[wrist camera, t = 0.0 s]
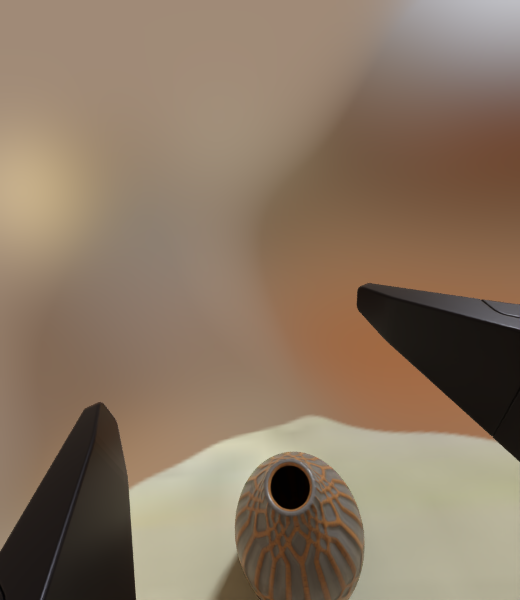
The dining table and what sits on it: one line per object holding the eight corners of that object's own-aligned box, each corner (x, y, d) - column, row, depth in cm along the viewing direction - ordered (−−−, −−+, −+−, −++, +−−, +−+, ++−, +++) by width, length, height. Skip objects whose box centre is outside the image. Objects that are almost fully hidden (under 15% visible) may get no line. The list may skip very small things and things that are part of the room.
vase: (252, 643, 15) (211, 611, 10) (245, 495, 20) (216, 427, 15) (381, 620, 15) (405, 576, 10) (338, 478, 20) (339, 405, 15)
